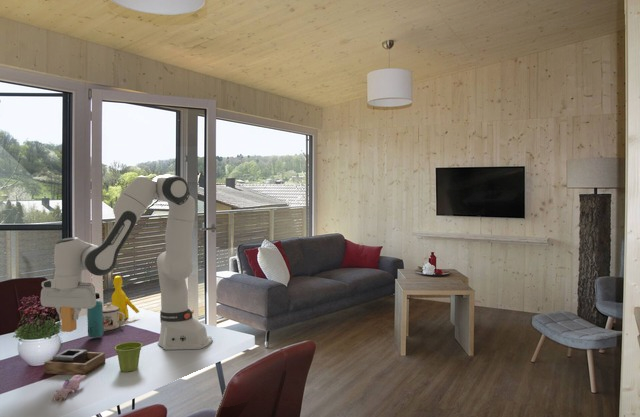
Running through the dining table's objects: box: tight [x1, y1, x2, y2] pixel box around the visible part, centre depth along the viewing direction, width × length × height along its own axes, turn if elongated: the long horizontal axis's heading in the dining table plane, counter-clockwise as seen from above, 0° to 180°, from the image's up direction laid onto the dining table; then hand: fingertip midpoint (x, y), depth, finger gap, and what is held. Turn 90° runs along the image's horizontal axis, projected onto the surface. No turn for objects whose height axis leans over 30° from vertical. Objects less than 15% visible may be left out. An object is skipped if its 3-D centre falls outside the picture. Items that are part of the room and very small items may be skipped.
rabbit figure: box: [51, 375, 87, 403], centre depth 156 cm, size 6×6×15 cm
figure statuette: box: [110, 275, 140, 321], centre depth 241 cm, size 18×8×22 cm, turn 85°
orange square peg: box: [60, 306, 78, 333], centre depth 176 cm, size 4×4×11 cm
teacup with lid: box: [102, 302, 125, 331], centre depth 226 cm, size 12×9×12 cm
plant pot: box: [114, 341, 143, 373], centre depth 176 cm, size 9×9×9 cm
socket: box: [52, 348, 88, 363], centre depth 177 cm, size 8×8×4 cm
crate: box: [43, 351, 106, 376], centre depth 177 cm, size 16×12×4 cm
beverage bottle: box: [86, 292, 104, 338], centre depth 210 cm, size 6×7×20 cm
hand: (69, 319), depth 176 cm, fingers closed on orange square peg, 3 cm apart
